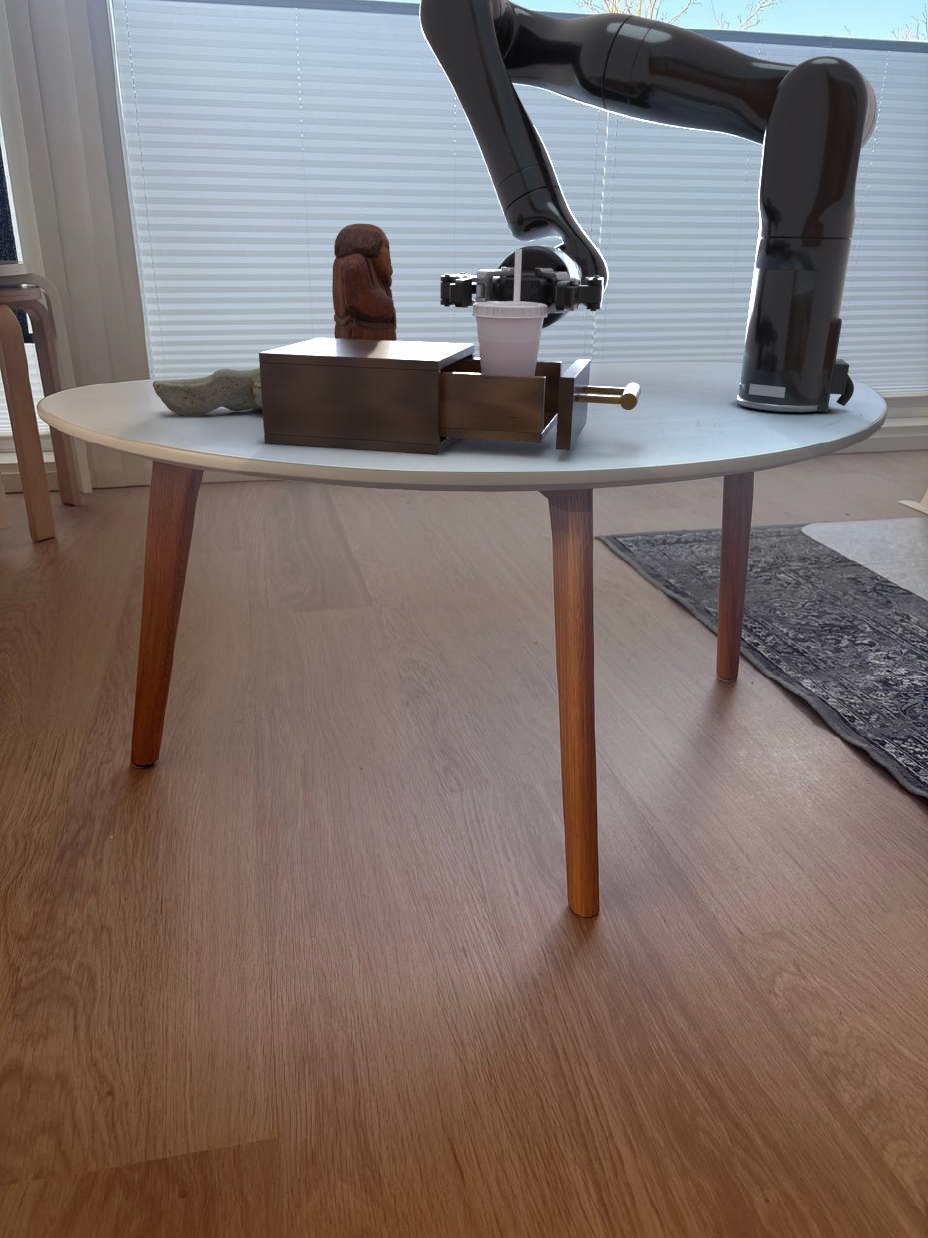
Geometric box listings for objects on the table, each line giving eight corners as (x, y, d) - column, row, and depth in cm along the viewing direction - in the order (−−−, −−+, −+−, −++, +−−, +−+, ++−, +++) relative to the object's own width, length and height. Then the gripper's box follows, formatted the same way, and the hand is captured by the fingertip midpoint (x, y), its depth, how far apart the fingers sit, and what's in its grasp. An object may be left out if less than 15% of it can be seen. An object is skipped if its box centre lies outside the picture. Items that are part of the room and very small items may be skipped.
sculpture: (160, 430, 89) (314, 411, 93) (150, 379, 88) (308, 362, 91) (160, 420, 96) (304, 404, 100) (150, 373, 94) (298, 357, 98)
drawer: (639, 426, 86) (645, 361, 84) (631, 454, 75) (637, 380, 72) (436, 414, 90) (436, 352, 88) (399, 439, 79) (398, 369, 76)
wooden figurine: (406, 406, 100) (404, 223, 93) (347, 407, 98) (341, 222, 91) (385, 389, 110) (382, 224, 103) (331, 390, 108) (325, 223, 102)
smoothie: (537, 427, 79) (545, 249, 73) (463, 423, 80) (465, 248, 75) (547, 414, 85) (555, 249, 79) (478, 411, 86) (481, 247, 80)
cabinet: (473, 425, 90) (474, 343, 87) (437, 454, 78) (438, 360, 75) (321, 416, 93) (317, 337, 90) (264, 442, 81) (258, 352, 78)
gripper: (468, 244, 91) (425, 244, 77) (614, 246, 88) (598, 247, 74) (467, 324, 94) (425, 339, 80) (608, 328, 91) (592, 345, 77)
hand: (509, 295), depth 77 cm, fingers open, 8 cm apart
